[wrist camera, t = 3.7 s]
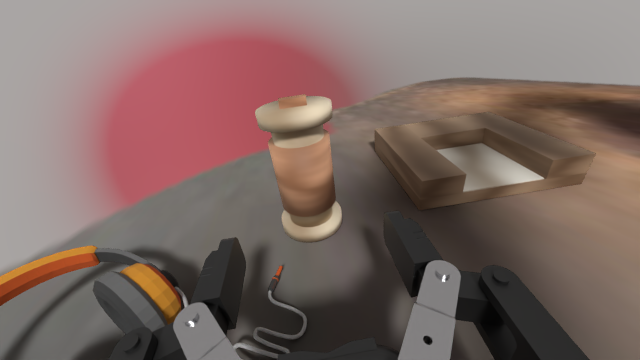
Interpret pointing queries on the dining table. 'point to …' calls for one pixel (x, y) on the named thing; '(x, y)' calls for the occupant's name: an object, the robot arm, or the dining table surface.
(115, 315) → the headphones
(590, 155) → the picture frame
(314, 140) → the bobbin
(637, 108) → the dining table surface
